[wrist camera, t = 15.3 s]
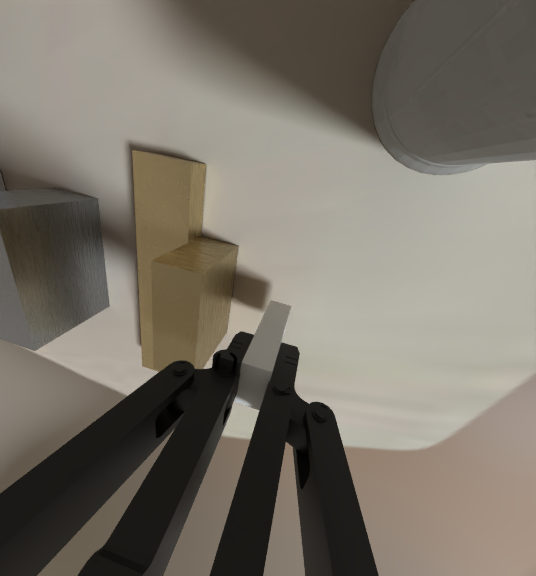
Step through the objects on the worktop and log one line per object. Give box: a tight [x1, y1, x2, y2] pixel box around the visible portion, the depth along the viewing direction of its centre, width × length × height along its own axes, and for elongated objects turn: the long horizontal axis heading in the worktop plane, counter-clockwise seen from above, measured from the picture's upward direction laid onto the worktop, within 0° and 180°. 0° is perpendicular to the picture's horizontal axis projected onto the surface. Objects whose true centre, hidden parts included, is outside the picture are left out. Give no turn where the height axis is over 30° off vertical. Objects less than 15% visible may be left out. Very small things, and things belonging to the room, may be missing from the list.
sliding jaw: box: [132, 150, 239, 372], centre depth 18 cm, size 7×18×6 cm, turn 169°
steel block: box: [0, 188, 110, 351], centre depth 19 cm, size 4×10×7 cm, turn 169°
